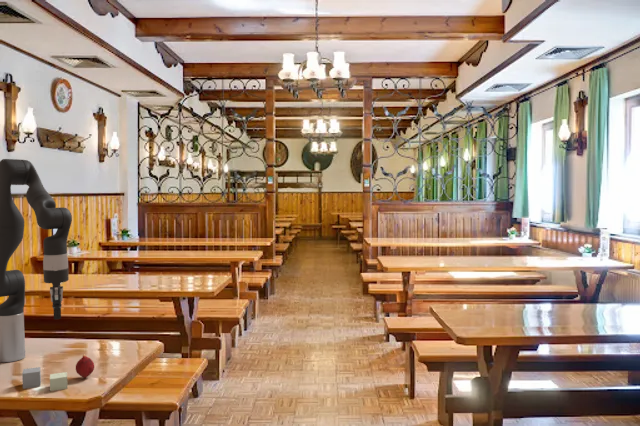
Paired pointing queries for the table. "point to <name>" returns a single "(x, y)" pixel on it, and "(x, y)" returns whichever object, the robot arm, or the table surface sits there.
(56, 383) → the sage block
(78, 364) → the onion
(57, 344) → the table surface
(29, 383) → the slate block
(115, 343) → the table surface
